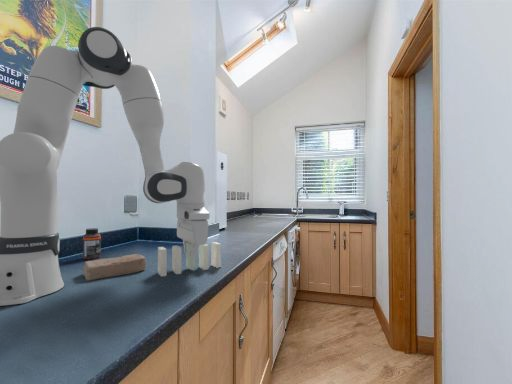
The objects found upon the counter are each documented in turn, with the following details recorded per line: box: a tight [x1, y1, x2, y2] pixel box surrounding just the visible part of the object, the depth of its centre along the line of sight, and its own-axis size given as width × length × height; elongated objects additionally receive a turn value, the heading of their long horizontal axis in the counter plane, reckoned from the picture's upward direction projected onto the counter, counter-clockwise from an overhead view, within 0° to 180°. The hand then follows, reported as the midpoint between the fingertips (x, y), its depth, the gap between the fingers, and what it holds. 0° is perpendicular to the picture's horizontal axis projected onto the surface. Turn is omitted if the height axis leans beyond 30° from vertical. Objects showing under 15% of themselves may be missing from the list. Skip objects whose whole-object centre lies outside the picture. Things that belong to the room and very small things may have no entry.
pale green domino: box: [185, 242, 196, 270], centre depth 89 cm, size 2×5×8 cm, turn 32°
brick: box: [82, 253, 147, 281], centre depth 86 cm, size 17×8×5 cm, turn 130°
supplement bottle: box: [82, 227, 102, 260], centre depth 105 cm, size 6×6×11 cm
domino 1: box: [157, 246, 168, 277], centre depth 84 cm, size 2×5×8 cm, turn 32°
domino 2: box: [171, 245, 183, 275], centre depth 86 cm, size 2×5×8 cm, turn 32°
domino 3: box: [198, 243, 210, 271], centre depth 91 cm, size 2×5×8 cm, turn 32°
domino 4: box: [210, 241, 222, 269], centre depth 93 cm, size 2×5×8 cm, turn 32°
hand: (190, 254), depth 89 cm, fingers closed on pale green domino, 4 cm apart
